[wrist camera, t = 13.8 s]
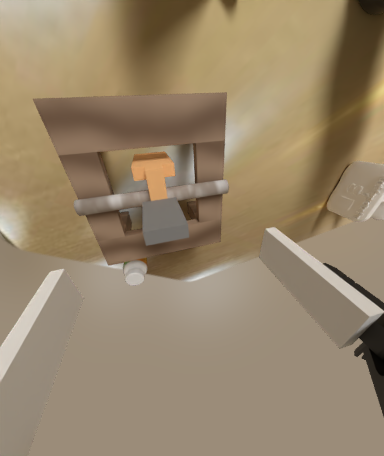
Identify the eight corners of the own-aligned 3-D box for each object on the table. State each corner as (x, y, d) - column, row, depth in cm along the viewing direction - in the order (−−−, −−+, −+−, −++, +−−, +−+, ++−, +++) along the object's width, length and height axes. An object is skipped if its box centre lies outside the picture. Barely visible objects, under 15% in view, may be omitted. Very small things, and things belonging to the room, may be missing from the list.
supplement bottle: (128, 242, 42) (124, 269, 34) (149, 245, 44) (150, 271, 36) (123, 258, 44) (119, 287, 36) (143, 260, 46) (144, 288, 38)
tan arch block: (134, 154, 27) (125, 194, 12) (164, 151, 28) (191, 185, 13) (145, 201, 32) (148, 273, 17) (170, 198, 33) (195, 262, 18)
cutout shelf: (79, 111, 27) (19, 95, 14) (195, 106, 31) (234, 88, 18) (118, 224, 39) (106, 274, 26) (199, 211, 43) (224, 248, 29)
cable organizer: (343, 208, 56) (384, 225, 47) (320, 207, 53) (360, 224, 44) (372, 162, 49) (428, 171, 40) (348, 158, 46) (403, 166, 37)
